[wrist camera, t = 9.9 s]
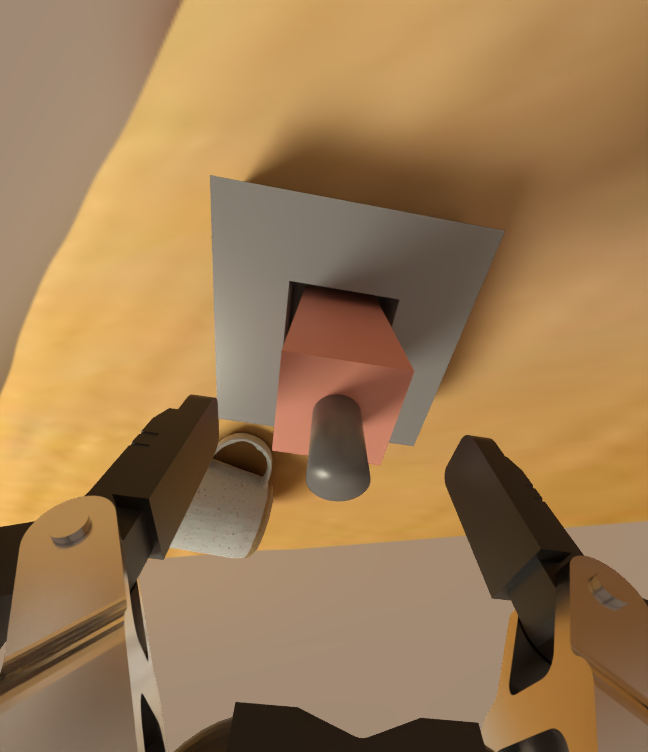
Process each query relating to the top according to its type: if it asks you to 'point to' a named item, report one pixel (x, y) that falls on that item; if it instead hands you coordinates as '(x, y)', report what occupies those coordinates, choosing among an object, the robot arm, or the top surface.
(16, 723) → the robot arm
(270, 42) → the top surface
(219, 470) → the ceramic mug
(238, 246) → the socket block
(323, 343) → the plug
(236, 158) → the top surface
